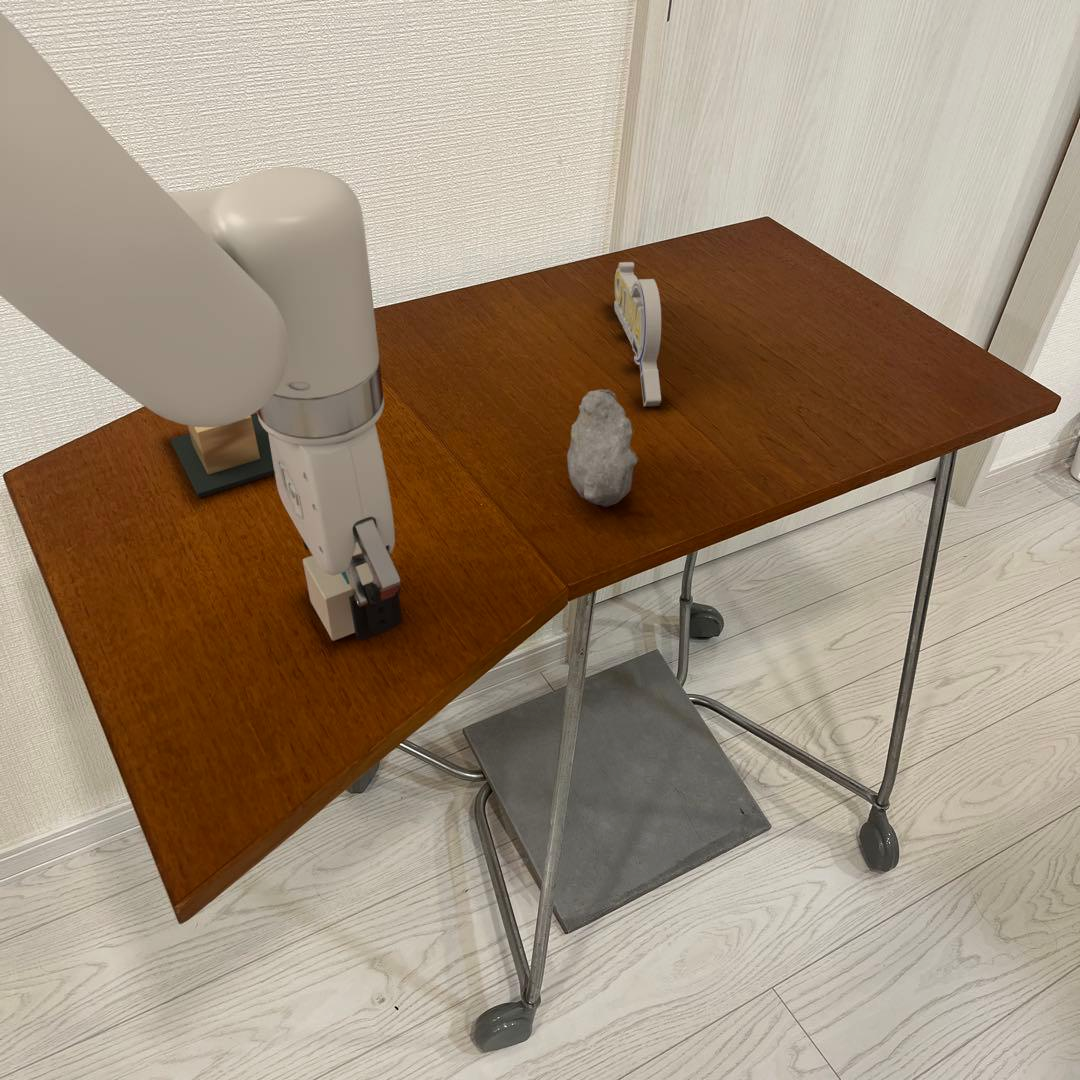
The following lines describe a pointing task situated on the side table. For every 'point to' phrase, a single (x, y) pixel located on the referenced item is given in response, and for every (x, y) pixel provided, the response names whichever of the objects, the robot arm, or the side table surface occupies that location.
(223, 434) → the letter h
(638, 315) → the decorative sign
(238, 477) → the word mat
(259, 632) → the side table surface
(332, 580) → the letter i
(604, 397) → the stone
